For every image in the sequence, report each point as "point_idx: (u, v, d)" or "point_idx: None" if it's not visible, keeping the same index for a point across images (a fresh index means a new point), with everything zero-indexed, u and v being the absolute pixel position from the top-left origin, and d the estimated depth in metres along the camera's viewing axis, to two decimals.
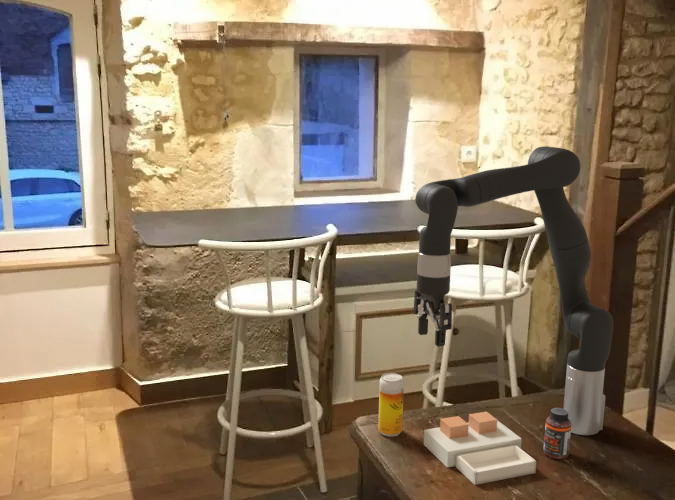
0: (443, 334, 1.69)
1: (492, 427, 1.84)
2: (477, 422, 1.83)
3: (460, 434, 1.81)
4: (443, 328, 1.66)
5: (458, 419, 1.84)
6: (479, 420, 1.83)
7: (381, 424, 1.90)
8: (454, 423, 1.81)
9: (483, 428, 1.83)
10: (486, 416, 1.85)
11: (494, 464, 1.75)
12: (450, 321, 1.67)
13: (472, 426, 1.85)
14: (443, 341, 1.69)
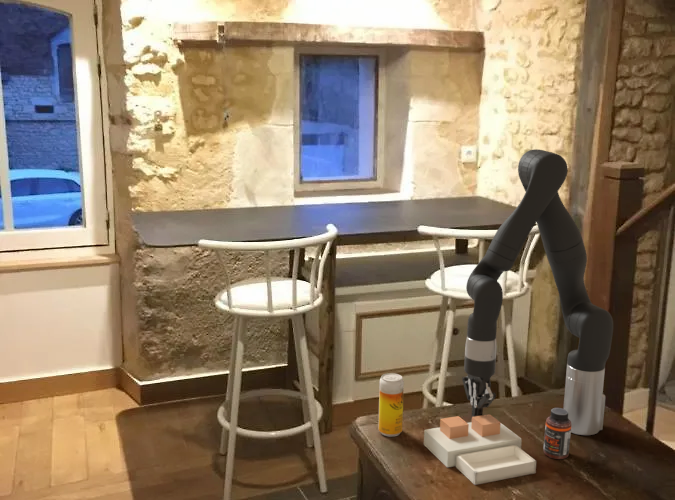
0: (480, 411, 1.86)
1: (495, 429, 1.82)
2: (480, 425, 1.81)
3: (460, 434, 1.81)
4: (481, 407, 1.84)
5: (458, 419, 1.84)
6: (482, 423, 1.82)
7: (381, 424, 1.90)
8: (454, 423, 1.81)
9: (486, 431, 1.81)
10: (489, 419, 1.84)
11: (494, 464, 1.75)
12: (489, 404, 1.84)
13: (475, 429, 1.84)
14: None
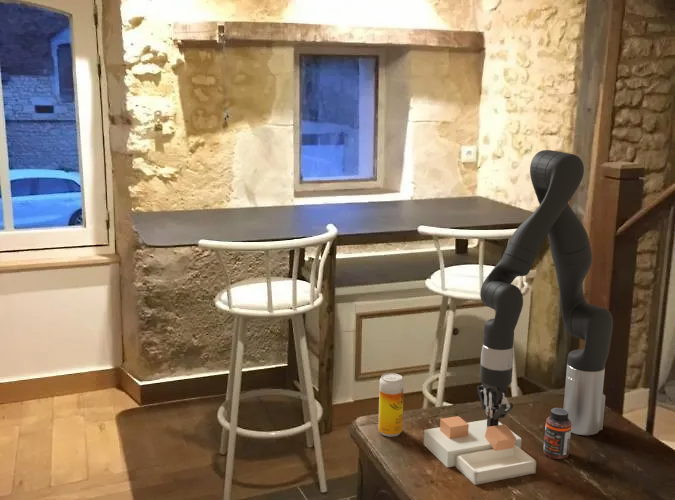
0: (496, 421, 1.80)
1: (509, 444, 1.76)
2: (495, 440, 1.75)
3: (460, 434, 1.81)
4: (497, 418, 1.77)
5: (458, 419, 1.84)
6: (497, 437, 1.75)
7: (381, 424, 1.90)
8: (454, 423, 1.81)
9: (500, 446, 1.75)
10: (505, 432, 1.77)
11: (494, 464, 1.75)
12: (505, 414, 1.77)
13: (489, 440, 1.78)
14: None
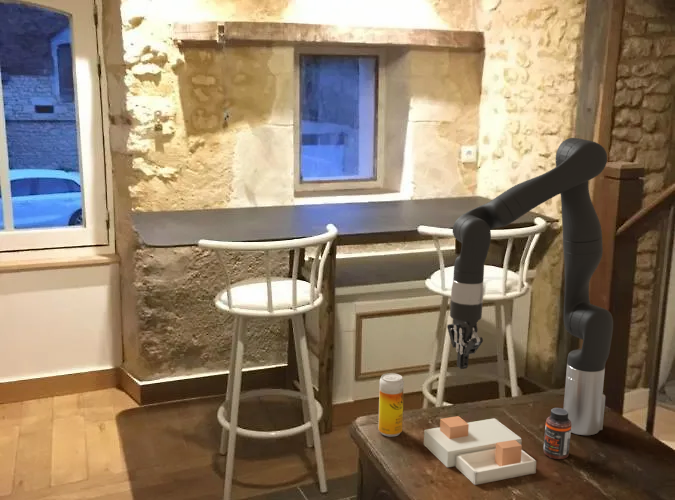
0: (466, 357, 1.81)
1: None
2: (500, 464, 1.73)
3: (460, 434, 1.81)
4: (467, 353, 1.79)
5: (458, 419, 1.84)
6: (504, 463, 1.73)
7: (381, 424, 1.90)
8: (454, 423, 1.81)
9: None
10: (515, 456, 1.74)
11: (494, 464, 1.75)
12: (475, 349, 1.78)
13: (496, 451, 1.75)
14: (466, 364, 1.81)
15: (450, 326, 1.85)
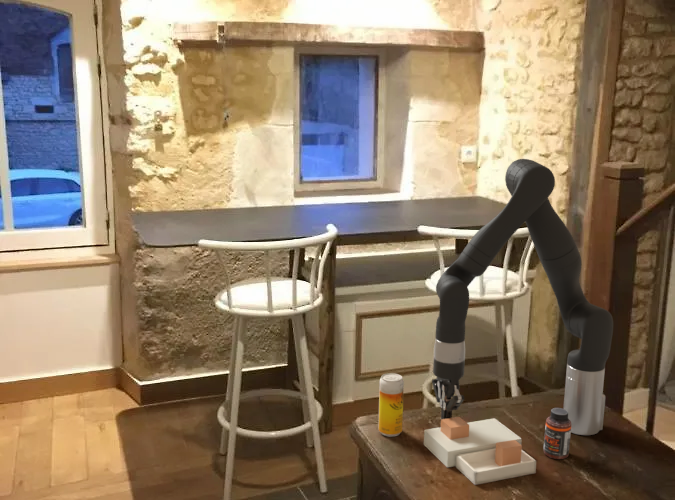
0: (450, 413, 1.85)
1: None
2: (500, 464, 1.73)
3: (461, 434, 1.80)
4: (449, 410, 1.82)
5: (459, 420, 1.83)
6: (504, 463, 1.73)
7: (381, 424, 1.90)
8: (455, 424, 1.81)
9: None
10: (515, 456, 1.74)
11: (494, 464, 1.75)
12: (458, 406, 1.82)
13: (496, 451, 1.75)
14: None
15: (434, 381, 1.89)
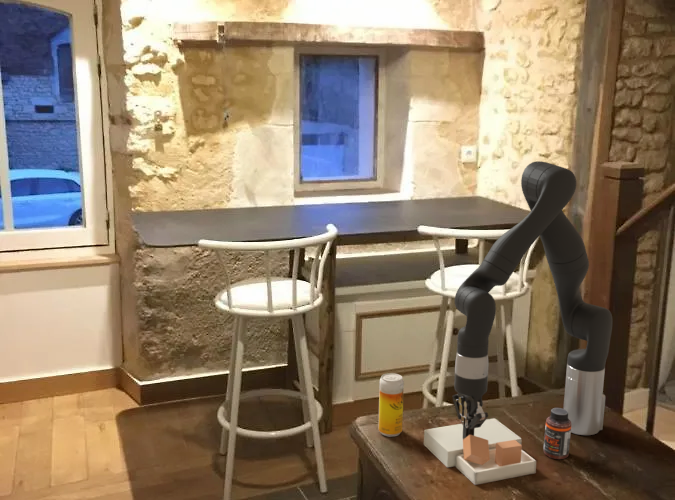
0: (472, 431, 1.75)
1: None
2: (500, 464, 1.73)
3: (476, 461, 1.72)
4: (472, 428, 1.73)
5: (485, 445, 1.73)
6: (504, 463, 1.73)
7: (381, 424, 1.90)
8: (478, 450, 1.72)
9: None
10: (515, 456, 1.74)
11: (494, 464, 1.75)
12: (481, 424, 1.73)
13: (496, 451, 1.75)
14: None
15: (455, 397, 1.79)
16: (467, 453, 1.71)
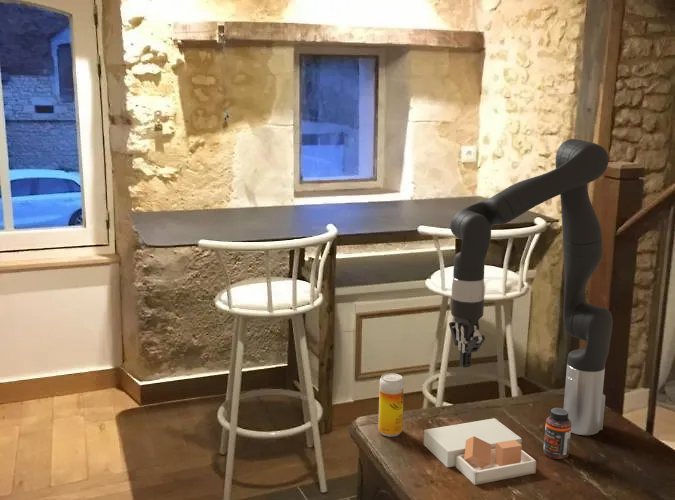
0: (469, 356, 1.77)
1: None
2: (500, 464, 1.73)
3: (476, 463, 1.72)
4: (469, 352, 1.75)
5: (487, 449, 1.73)
6: (504, 463, 1.73)
7: (381, 424, 1.90)
8: (480, 453, 1.71)
9: None
10: (515, 456, 1.74)
11: (494, 464, 1.75)
12: (478, 347, 1.75)
13: (496, 451, 1.75)
14: (469, 362, 1.78)
15: (452, 324, 1.81)
16: (468, 454, 1.71)
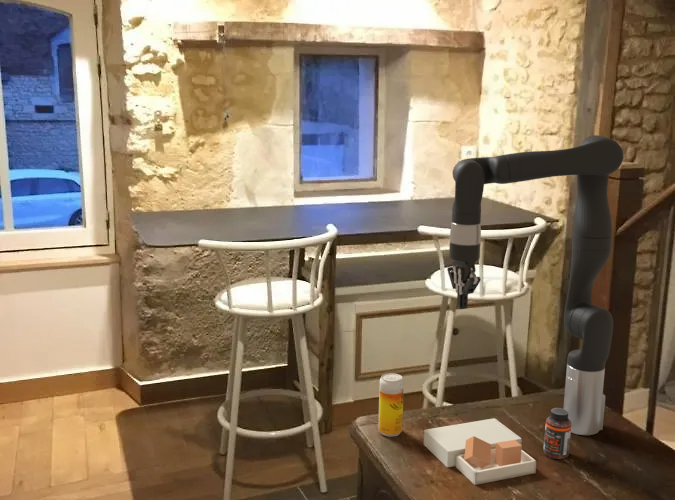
0: (466, 298, 1.88)
1: None
2: (500, 464, 1.73)
3: (476, 463, 1.72)
4: (466, 293, 1.85)
5: (487, 449, 1.73)
6: (504, 463, 1.73)
7: (381, 424, 1.90)
8: (480, 453, 1.71)
9: None
10: (515, 456, 1.74)
11: (494, 464, 1.75)
12: (474, 289, 1.85)
13: (496, 451, 1.75)
14: (465, 304, 1.88)
15: (450, 268, 1.92)
16: (468, 454, 1.71)
